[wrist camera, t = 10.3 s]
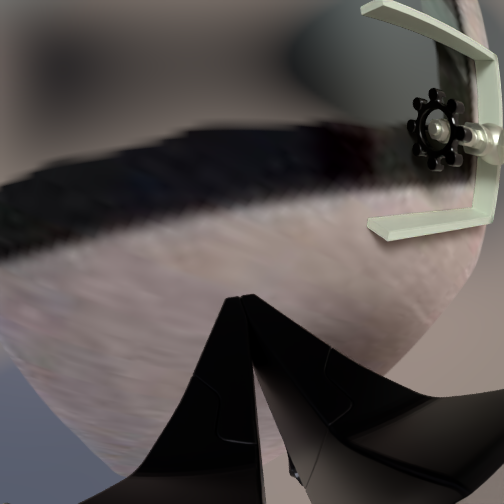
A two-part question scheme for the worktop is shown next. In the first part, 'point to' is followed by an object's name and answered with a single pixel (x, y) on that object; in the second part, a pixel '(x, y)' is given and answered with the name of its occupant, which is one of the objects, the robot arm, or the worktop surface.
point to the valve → (453, 134)
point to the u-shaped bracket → (488, 113)
